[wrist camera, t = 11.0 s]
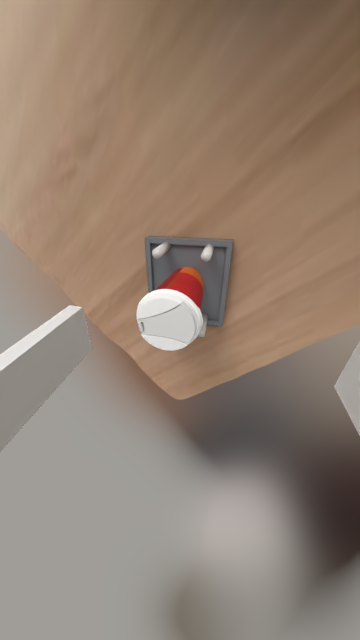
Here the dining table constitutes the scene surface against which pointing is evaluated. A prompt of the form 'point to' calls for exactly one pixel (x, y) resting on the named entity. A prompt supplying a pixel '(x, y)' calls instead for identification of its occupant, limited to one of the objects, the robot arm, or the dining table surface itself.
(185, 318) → the coffee cup
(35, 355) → the robot arm
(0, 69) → the dining table surface
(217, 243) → the tray
